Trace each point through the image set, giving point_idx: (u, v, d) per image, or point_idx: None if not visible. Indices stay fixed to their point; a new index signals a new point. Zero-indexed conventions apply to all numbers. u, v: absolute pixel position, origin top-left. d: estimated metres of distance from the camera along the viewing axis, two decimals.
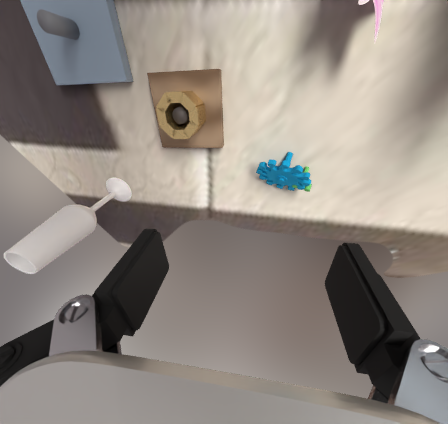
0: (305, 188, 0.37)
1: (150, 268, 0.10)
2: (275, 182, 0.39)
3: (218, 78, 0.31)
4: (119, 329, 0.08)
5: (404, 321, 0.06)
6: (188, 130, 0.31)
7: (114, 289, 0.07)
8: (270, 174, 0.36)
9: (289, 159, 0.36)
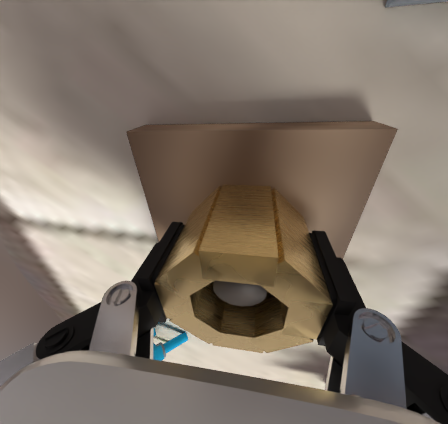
0: None
1: None
2: None
3: None
4: (156, 314, 0.08)
5: (350, 293, 0.07)
6: (195, 325, 0.09)
7: (153, 275, 0.08)
8: None
9: (176, 346, 0.24)
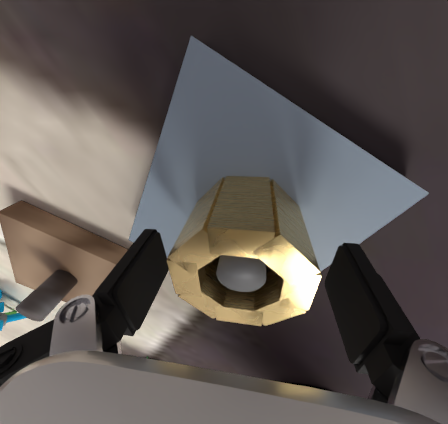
0: None
1: (150, 268, 0.10)
2: None
3: None
4: (119, 329, 0.08)
5: (404, 321, 0.06)
6: (201, 300, 0.10)
7: (114, 289, 0.07)
8: None
9: (19, 319, 0.31)
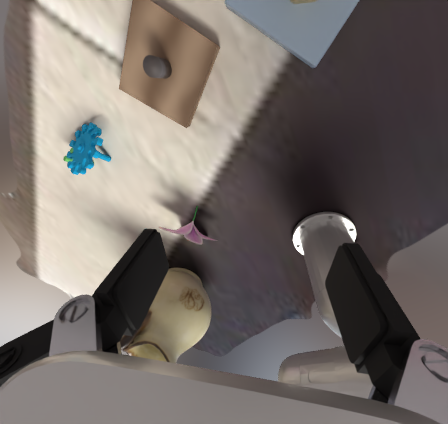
0: (67, 158, 0.38)
1: (150, 268, 0.10)
2: (81, 135, 0.36)
3: (180, 123, 0.32)
4: (119, 329, 0.08)
5: (404, 321, 0.06)
6: None
7: (114, 289, 0.07)
8: (88, 140, 0.35)
9: (102, 158, 0.39)
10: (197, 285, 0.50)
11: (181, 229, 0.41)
